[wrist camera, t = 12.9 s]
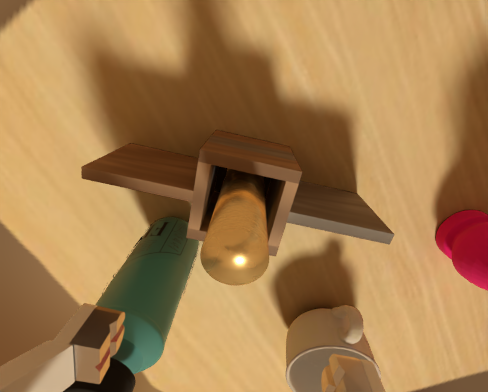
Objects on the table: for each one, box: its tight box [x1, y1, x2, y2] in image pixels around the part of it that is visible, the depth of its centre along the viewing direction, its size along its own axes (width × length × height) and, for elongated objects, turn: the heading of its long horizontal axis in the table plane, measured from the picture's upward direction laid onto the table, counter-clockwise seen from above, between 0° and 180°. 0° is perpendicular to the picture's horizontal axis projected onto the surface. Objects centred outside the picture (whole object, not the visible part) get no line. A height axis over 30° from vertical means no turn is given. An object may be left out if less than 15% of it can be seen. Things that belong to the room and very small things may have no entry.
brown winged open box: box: [82, 130, 394, 256], centre depth 26 cm, size 8×26×9 cm, turn 78°
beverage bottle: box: [63, 217, 199, 392], centre depth 25 cm, size 6×7×20 cm
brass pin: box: [200, 168, 269, 285], centre depth 23 cm, size 4×4×16 cm
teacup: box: [286, 305, 381, 392], centre depth 35 cm, size 14×11×8 cm
